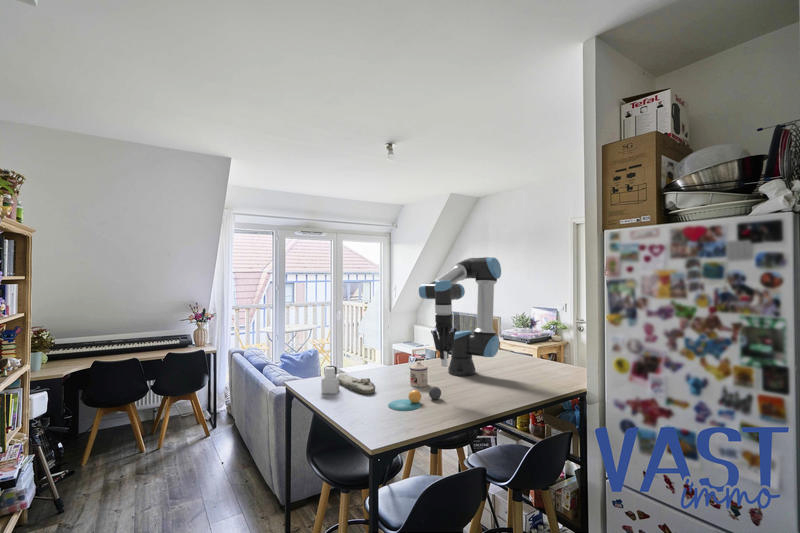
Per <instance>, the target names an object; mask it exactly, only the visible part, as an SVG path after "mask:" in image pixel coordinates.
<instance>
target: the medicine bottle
mask: <svg viewBox="0 0 800 533" xmlns="http://www.w3.org/2000/svg"><path fill="white" fill-rule="evenodd" d="M337 370H338V368H337V366H335V365H327V366H325V367H324V368H323V377H322V378H321V394H322V395H336V394H337V393H338V392H339V391H340V383H339V374H338V373H337V372H338V371H337Z"/></svg>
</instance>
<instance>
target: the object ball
mask: <svg viewBox="0 0 800 533" xmlns="http://www.w3.org/2000/svg"><path fill="white" fill-rule="evenodd" d="M408 399H409V400H410V401H411V402H412V403H418V402H420V401H421V400H422V394H421V392H420V391H419V390H417V389H412V390H411V391H410V392H408Z"/></svg>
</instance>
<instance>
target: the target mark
mask: <svg viewBox="0 0 800 533" xmlns="http://www.w3.org/2000/svg"><path fill="white" fill-rule="evenodd" d="M387 406H388V408H389V409H391V410H393V411H394V410H395V411H399V412H400V411H401V412H407V411H409V412H410V411H415V410H418V409H420V408H421V406H422V403H421V402H420V401H419V402H418V403H412V402H411V401H410V400H409V398H408V399H407V398H406V399H405V398H403V399H395V400H392V401H390V402H388V405H387Z"/></svg>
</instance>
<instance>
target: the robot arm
mask: <svg viewBox="0 0 800 533" xmlns="http://www.w3.org/2000/svg"><path fill="white" fill-rule="evenodd" d="M501 276H502V267H501V264H500V261H499V260H498V258H496V257H489V256H485V257H469V258H467V259H463V260H461V261H458V262H457V263H455V264H454V265H453V266H452V267H451V268H450V270H448V271H447V272H444V274H442V275H441V276H439V277H437V278H436V279H434V280H433V281H431V282H429V283H422V284H420V286H419V287H418V295H419V297H420V298H421V299H424V300H425V299H426V300H434V310H435V311H434V313H435V316H434V317H435V319H434V321H435V322H434V323H435V327H434V329H431V330H430V333H431V335H432V338H433V341H434V347H435V351H437V352H439V359H440V360H441V361H440V364H441V367H444V368H446V367H447V368H448V371H447V372H448V373H449V374H450V375H453V376H460V377H466V376H473V375H475V374H476V367H475V363H474V360H473V356H477V357H483V358H494V357H495V356H497V353H499V352H498V351H499V348H500V338H499V336H498V335H496V330H494V303H495V302H494V301H495V300H494V298H495V297H494V296H495V294H494V292H495V285H496V284H497V282H498V279H500V278H501ZM466 279H475V283H477V309H476V310H477V311H476V312H477V313H476V314H477V315H476V328H475V329H474V330H473V331H472V330H460V331H457V328H456V327H455V328H454V327H453V325H452V322H453V315H452V313H453V305H452V302H453V301H455V300H460V299H462V298H463V297H464V296H465V294H466V291H465V287H464V286H463V285H462V284H460V283H458V282H460V281H464V280H466ZM449 353H451V354H450V360H449V361H450V362H449V366H448V359H449Z"/></svg>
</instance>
